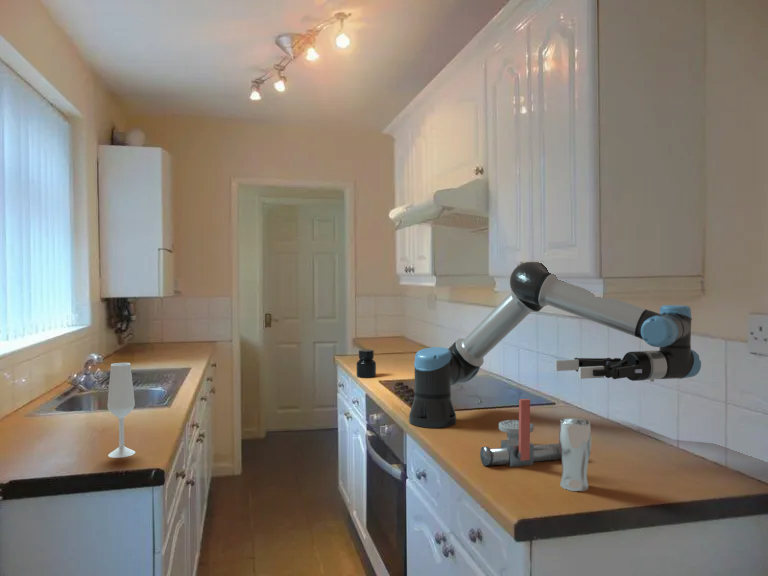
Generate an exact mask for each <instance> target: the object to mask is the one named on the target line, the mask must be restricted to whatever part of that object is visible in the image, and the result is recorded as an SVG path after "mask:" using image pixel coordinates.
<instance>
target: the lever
mask: <svg viewBox="0 0 768 576" xmlns="http://www.w3.org/2000/svg"><path fill="white" fill-rule="evenodd" d="M518 420H519V451H518V452H517V457H518V459H519V460H521V461H522V462H527V461H529V460H530V457H531V454H530V443H531V433H530V423H531V399H529V398H520V399H518Z"/></svg>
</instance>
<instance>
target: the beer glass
mask: <svg viewBox="0 0 768 576" xmlns="http://www.w3.org/2000/svg"><path fill="white" fill-rule="evenodd" d="M558 429H559V430H558V443H559V448H560V455H561V459H560V460H561V466H562V467H561V469H562V471H561V478H560V479H561V480H560V483H559V484H560V487H561V488H563V489H564V490H566V489H567V490H566V491H570V492H577V491H580V492H586V491H588V490H589V483H588V465H589V460H590V455H591V448H592V428H591V421H590V420H588V419H584V418H580V417H564V418H560V420H559V428H558Z"/></svg>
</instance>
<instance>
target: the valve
mask: <svg viewBox="0 0 768 576" xmlns="http://www.w3.org/2000/svg"><path fill="white" fill-rule="evenodd" d="M518 451H519V439H513V440H507V439H505V440H503V439H502V440H501V441H500V447H497V448H496V447H494V448H490V447H489V446H481V448H480V452H479V455H480V456H479V457H480V461H481V464H482V465H483V466H485V467H488V466H498V465H507V466H509V468H512V467H513V468H514V467H515V468H516V467H523V466H525V465H526V466H533V465H534V462H535V463H536V462H544V461H546V462H547V461H556V460H558V461H559V460H561V455H560V448H559V442H558V443H546V444H535V445H534V443H532V442H530V454H531V457H530V460H529V461H527V462H522V461H521V460H519V459H518V457H517V452H518Z"/></svg>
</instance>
